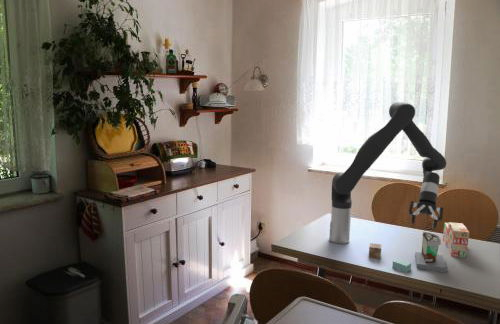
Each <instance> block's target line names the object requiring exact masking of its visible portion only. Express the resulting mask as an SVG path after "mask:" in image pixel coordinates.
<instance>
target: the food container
mask: <svg viewBox="0 0 500 324" xmlns="http://www.w3.org/2000/svg"><path fill="white" fill-rule="evenodd" d="M421 242H422V243H421V252H422V257H423V259H424V261H425V263H433V262H435V261H436V257H437V255H438V251H439V246H440V245H441V244H442V242H441V238H440V236H439V235H437V234H435V233H431V232H427V231H422V241H421Z"/></svg>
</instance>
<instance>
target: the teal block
mask: <svg viewBox="0 0 500 324" xmlns="http://www.w3.org/2000/svg"><path fill="white" fill-rule="evenodd" d="M392 268H393V269H395V270H399V271H401V272H403V273H407V272H409V271H411V270H412V263H411V262H409V261H405V260H403V259H400V258H397V259H396V258H395V260H393V261H392Z"/></svg>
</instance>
